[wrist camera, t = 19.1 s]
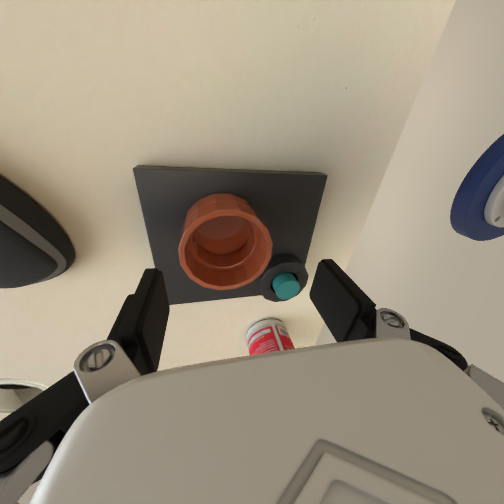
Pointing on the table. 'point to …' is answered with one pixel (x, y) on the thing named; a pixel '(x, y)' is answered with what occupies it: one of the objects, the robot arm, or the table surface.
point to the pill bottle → (268, 337)
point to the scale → (241, 185)
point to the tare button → (285, 285)
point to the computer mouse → (29, 241)
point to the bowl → (224, 242)
